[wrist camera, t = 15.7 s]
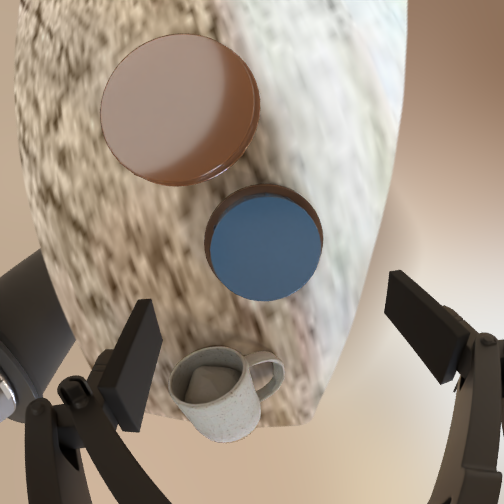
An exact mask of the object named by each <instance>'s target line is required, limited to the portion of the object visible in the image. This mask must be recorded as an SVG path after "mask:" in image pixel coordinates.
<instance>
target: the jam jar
mask: <svg viewBox="0 0 504 504" xmlns="http://www.w3.org/2000/svg"><path fill="white" fill-rule="evenodd" d="M259 117H260V95H259V89H258V86H257V83H256V80H255V78H254V76H253V74H252V72H251V70H250V69H249V67H248V66H247V64H246V63H245V62H244V61H243V60H242V59H241V58H240V56H238V55H237V54H236V53H235V52H234V51H232V50H231V49H229V48H228V47H226V46H224V45H223V44H221V43H219V42H218V41H215V40H213V39H211V38H208V37H204V36H201V35H195V34H172V35H166V36H162V37H159V38H156V39H153V40H151V41H148V42H147V43H145V44H143V45H141V46H139V47H138V48H136V49H135V50H134V51H132V52H131V53H130V54H129V55H127V56H126V57H125V58H124V59H123V60H122V61H121V63H120V64H119V65H118V66H117V67H116V69H115V70H114V72H113V73H112V75H111V77H110V78H109V80H108V82H107V85H106V87H105V90H104V93H103V97H102V101H101V109H100V119H101V127H102V131H103V135H104V138H105V140H106V143H107V145H108V147H109V149H110V150H111V152H112V153H113V155H114V156H115V157H116V158H117V160H118V161H119V162H120V163H121V164H122V165H123V166H124V167H126V168H127V169H128V170H130V171H131V172H132V173H134V175H136V176H139V177H141V178H143V179H145V180H148V181H150V182H153V183H156V184H160V185H166V186H189V185H194V184H198V183H201V182H205V181H207V180H210V179H212V178H214V177H216V176H218V175H219V174H221V173H223V172H224V171H226V170H227V169H228V168H230V167H231V166H232V165H233V164H234V163H235V162H236V161H237V160H238V159H239V158H240V157H241V156H242V155H243V153H244V152H245V151H246V149H247V148H248V146H249V145H250V143H251V141H252V139H253V137H254V135H255V132H256V130H257V126H258V122H259Z"/></svg>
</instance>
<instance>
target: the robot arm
mask: <svg viewBox="0 0 504 504" xmlns="http://www.w3.org/2000/svg"><path fill="white" fill-rule="evenodd" d="M388 281H389V282H388V289H387V296H386V304H385V310H384V313H385V314H386V316H387V317H388V318H389V319H390V320H391V322H392V323H393V324H394V326H395V327H396V328H397V329H398V330H399V332H400V333H401V334H402V335H403V337H404V338H405V339H406V340H407V342H408V343H409V344H410V345H411V347H412V348H413V349H414V351H415V352H416V353H417V354H418V356H419V357H420V358H421V360H422V361H423V362H424V364H425V365H426V366H427V368H428V369H429V370H430V371H431V373H432V374H433V376H434V377H435V378H436V379H437V381H438V382H439V384H440V385H441V384H444V383H447V382H449V381H451V380H453V378H454V375H455V373H456V371H458V372H459V374H460V378H459V380H458V382H457V384H456V387H455V389H454V391H453V392H455V391H456V389H457V393H456V400H455V406H454V411H453V417H452V422H451V427H450V432H449V436H448V440H447V445H446V449H445V453H444V457H443V460H442V463H441V467H440V470H439V474H438V477H437V480H436V483H435V486H434V489H433V492H432V495H431V498H430V500H429V502H428V503H427V504H497V503H498V499H499V494H500V488H501V483H502V473H501V472H497V470H496V466H497V459H498V451H499V441H500V427H501V423H502V429H503V435H504V340H497V338H496V337H495V336H493V335H492V334H489V333H478V332H477V331H475V329H474V328H472V327H471V326H470V325H469V324H468V323H467V322H466V321H465V320H463V318H462V317H461V316H459V315H458V314H457V313H456V312H455V311H454V310H453V309H451V308H449V307H446V306H445V305H444V306H442V305H440V304H439V303H438V302H437V301H436V300H435V299H434V298H433V297H431V296H430V295H429V294H428V293H427V292H426V291H425V290H424V289H422V288H421V287H420V286H419V285H418V284H417V283H416V282H414V281H413V280H412V279H411V278H410V277H408V276H407V275H406V274H405V273H404V272H403V271H401V270H396V271H390V272H389V280H388ZM162 341H163V339H162V336H161V333H160V329H159V326H158V322H157V318H156V315H155V311H154V307H153V304H152V300H151V299H141V300H138V301H137V303H136V305H135V307H134V309H133V311H132V313H131V315H130V317H129V319H128V321H127V323H126V325H125V327H124V329H123V331H122V333H121V335H120V337H119V339H118V342H117V344H116V346H115V348H114V349H106V350H105V351H104V352H102V353H101V354H100V355H99V356H98V358H97V360H96V362H95V365H94V366H93V368H92V371H91V373H90V375H89V377H88V379H87V381H86V380H85V379H84V378H83V377H81V376H70V377H67V378H66V379H64V380H63V381H62V382H61V383H60V384H59V386H58V389H57V392H58V394H59V396H60V398H61V399H62V401H63V403H64V404H61V405H54V406H52V405H51V403H50V402H49V401H48V400H47V399H45V398H37V399H35V400H33V401H32V402H30V403H29V405H28V406H27V408H26V413H25V466H26V467H25V468H26V482H27V493H28V501H29V504H92V501H91V497H90V494H89V490H88V486H87V481H86V477H85V473H84V468H83V463H82V459H81V454H80V448H86V450H87V451H88V453H89V455H90V457H91V459H92V461H93V463H94V464H95V466H96V468H97V470H98V471H99V473H100V475H101V477H102V478H103V480H104V481H105V483H106V485H107V486H108V488H109V490H110V491H111V493H112V494H113V496H114V497H115V499H116V500H117V502H118V503H119V504H172V503H171V502H170V501H169V500H168V499H167V498H166V497H165V495H164V494H163V493H162V492H161V491H160V490H159V488H158V487H157V486H156V485H155V484H154V482H153V481H152V480H151V479H150V478H149V476H148V475H147V474H146V472H145V471H144V470H143V468H142V467H141V466H140V465H139V463H138V462H137V461H136V459H135V458H134V456H133V455H132V454H131V452H130V451H129V449H128V448H127V447H126V445H125V444H124V442H123V441H122V439H121V438H120V436H119V435H118V433H117V432H116V428H117V425H118V424H119V426H120V427H121V429H122V431H125V432H140V428H141V423H142V419H143V415H144V411H145V406H146V402H147V398H148V394H149V390H150V386H151V382H152V378H153V375H154V371H155V367H156V363H157V360H158V356H159V352H160V349H161V345H162ZM18 404H19V398H18V394H17V392H16V389H15V387H14V385H13V384H12V382H11V380H10V379H9V377H8V376H7V374H6V373H5V371H4V370H3V369H2V367H1V366H0V422H2V421H3V420H5V419H6V418H7V417H9V416H10V415H11V414H12V413H14V411H15V409H16V408H17V406H18Z"/></svg>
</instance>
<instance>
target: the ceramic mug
mask: <svg viewBox="0 0 504 504" xmlns="http://www.w3.org/2000/svg"><path fill="white" fill-rule="evenodd" d="M268 361H270V362H273V367H274V371H273V375H274V376H273V378H272V379H271V380H270V382H269V383H268V384H266V385H265V386H264V387H263V388H261V389H260V390H258V391H255V388H254V384H253V381H252V378H251V375H250V371H249V368H250V367H251V366H253V365H255V364H259V363H263V362H268ZM284 376H285V369H284V365H283V363H282V361H281V360H280V359H279V358H278V357H277V356H275V355H274V354H273V353H271V352H267V351H258V352H255V353H251V354H248V355H245V356H243V355H242V354H241V353H239V352H238V351H237V350H235V349H233V348H229V347H224V346H214V347H207V348H203V349H200V350H197V351H195V352H193V353H191V354H189V355H188V356H186V357H185V358H183V359H182V360H181V361H180V362H179V363H178V364H177V365H176V366H175V368H174V369H173V371H172V372H171V374H170V377H169V381H168V389H169V393H170V395H171V397H172V399H173V401H174V402H175V403H176V404H177V405H178V407H179V408H180V409H181V411H182V412H183V413H184V414H185V416H186V417H187V418H188V419H189V420H190V421H191V423H192V424H193V425H194V426H195V428H196V429H197V430H198V431H199V432H200V433H201V434H203V435H204V436H205V437H207V438H208V439H210V440H212V441H215V442H219V443H231V442H236V441H239V440H242V439H244V438H245V437H247V436H248V435H249V434H251V433H252V432H253V431H254V429H255V428H256V427H257V425H258V423H259V420H260V415H261V408H260V402H261V401H263V400H265V399H267V398H268V397H270V396H271V395H273V394H274V393H275V392H276V391H277V390H278V389H279V387H280V386H281V384H282V382H283V380H284Z"/></svg>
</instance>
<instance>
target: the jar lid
mask: <svg viewBox="0 0 504 504" xmlns="http://www.w3.org/2000/svg"><path fill="white" fill-rule="evenodd" d="M320 253H321V241H320V235H319V232H318V229H317V227H316V225H315V223H314V221H313V220H312V218H311V217H310V216H309V215H308V213H307V211H306V210H305V209H304V208H302V207H301V206H299V205H298V204H297V203H296V202H294V201H293V200H291V199H289V198H288V197H287V196H286V197H285V196H282V195H278V194H273V193H267V192H265V193H258V194H252V195H249V196H246V197H245V196H244V197H243V198H241V199H239V200H238V201H236V202H234V203H233V204H232V205H230V206H229V207H228V208H226V209H225V211H224V212H223V214H222V215H221V216H220V218H219V219H218V221H217V223H216V225H214V229H213V235H212V240H211V246H210V255H211V261H212V265H213V268H214V271H215V273H216V275H217V276H218V278H219V279H220V281H221V282H222V283H223V284H224V285H225V286H226V287H227V288H228V289H229V290H231V291H232V292H234V293H235V294H237V295H239V296H241V297H243V298H246V299H250V300H255V301H272V300H277V299H281V298H284V297H287V296H289V295H291V294H293V293H294V292H296V291H297V290H299V289H300V288H301V287H302V286H304V285H305V284H306V283H307V281H308V280H309V279H310V278H311V276H312V275H313V273H314V271H315V270H316V268H317V265H318V262H319V258H320Z"/></svg>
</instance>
